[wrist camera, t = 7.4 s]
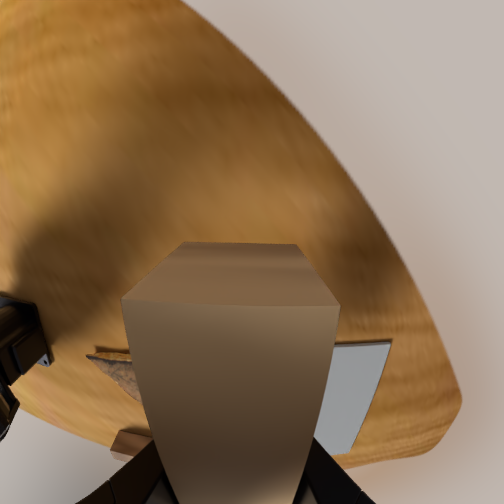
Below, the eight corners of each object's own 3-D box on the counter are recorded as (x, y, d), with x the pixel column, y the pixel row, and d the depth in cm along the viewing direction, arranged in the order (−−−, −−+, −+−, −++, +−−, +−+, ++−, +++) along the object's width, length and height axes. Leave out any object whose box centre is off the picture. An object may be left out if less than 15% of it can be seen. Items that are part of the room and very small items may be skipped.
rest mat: (281, 456, 22) (282, 458, 22) (304, 345, 19) (305, 348, 19) (347, 450, 23) (348, 452, 22) (388, 341, 19) (390, 344, 19)
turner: (133, 240, 7) (44, 290, 4) (349, 246, 7) (428, 301, 4) (182, 487, 10) (171, 545, 7) (297, 490, 10) (304, 550, 7)
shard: (92, 346, 20) (82, 357, 18) (140, 292, 19) (131, 301, 17) (186, 423, 22) (183, 436, 20) (246, 384, 21) (246, 399, 19)
